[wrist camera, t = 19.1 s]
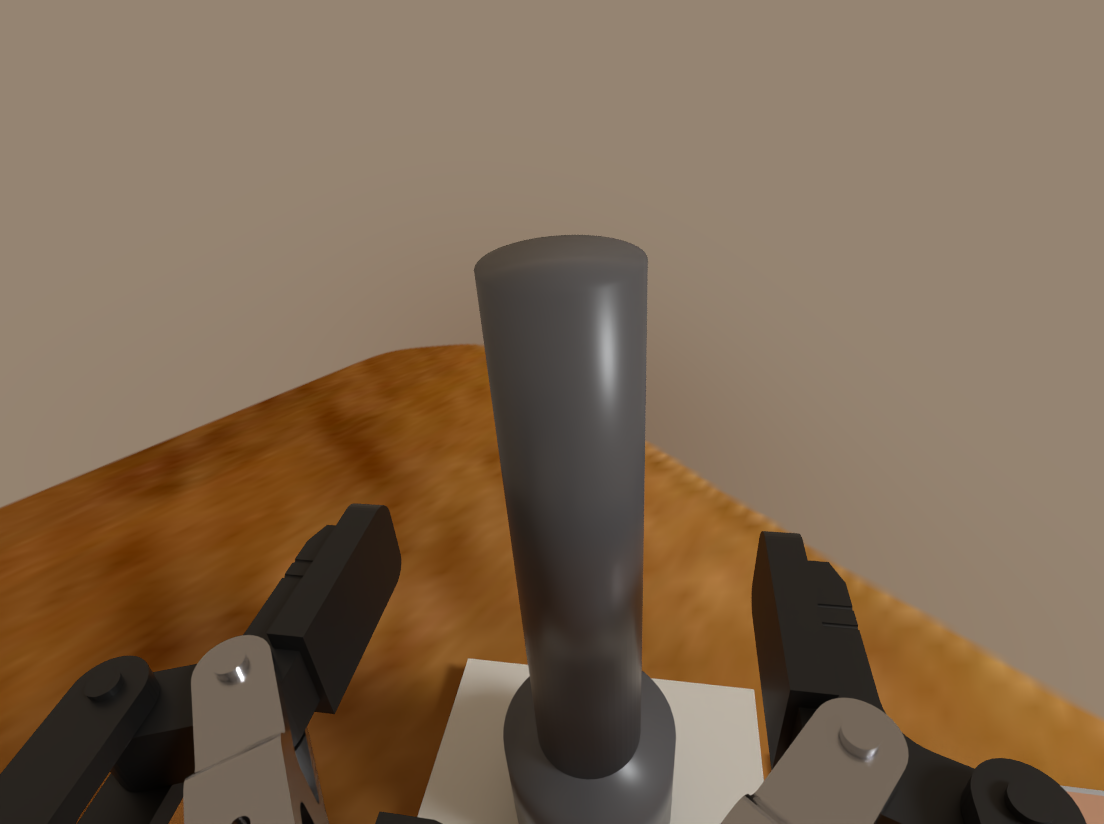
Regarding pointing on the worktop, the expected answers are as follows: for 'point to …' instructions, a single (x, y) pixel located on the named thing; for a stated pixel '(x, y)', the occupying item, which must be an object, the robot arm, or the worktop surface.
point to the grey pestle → (577, 527)
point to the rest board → (699, 768)
